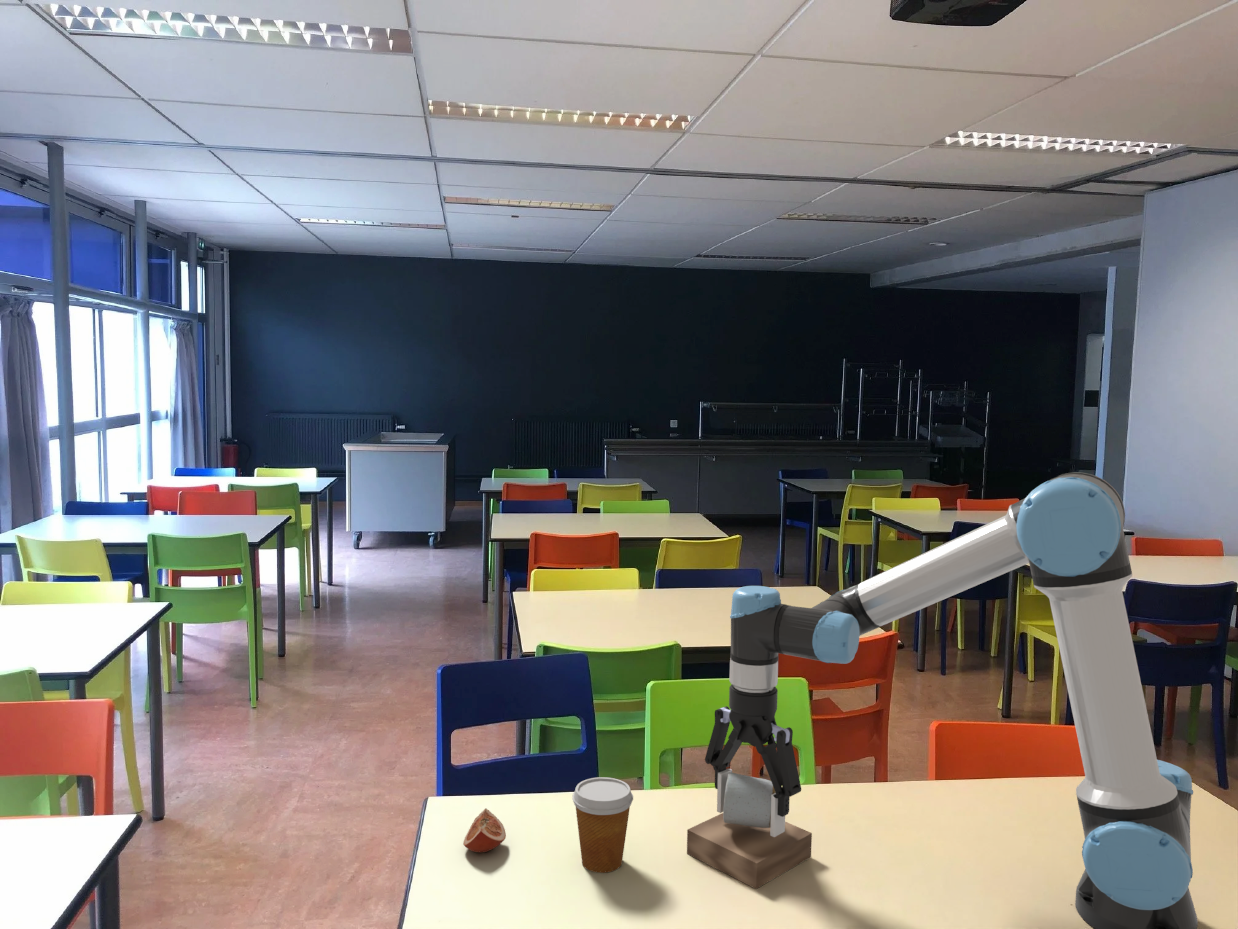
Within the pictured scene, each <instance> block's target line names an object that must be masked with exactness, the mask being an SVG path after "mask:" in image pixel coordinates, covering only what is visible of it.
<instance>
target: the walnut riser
mask: <svg viewBox="0 0 1238 929" xmlns="http://www.w3.org/2000/svg"><path fill="white" fill-rule="evenodd" d="M686 831H687V832H686V835H687V836H686V854H687V855H689V856H691V857H693V858H695V860H696V859H697V860H699V861H700V862H702V863H704V864H706V865H708V866H710V867H712V868H714V869H716V870H718V871H720V872H722V873H724V874H726V875H728V876H730V877H731V878H734V879H736V880H738V881H740V882H742V883H744V884H746V885H747V886H749V887H751V888H753V889H755V890H757V889H759V888H760V887H762V886H764V885H765V884H767V883H769V882H770V881H772V880H774V879H777V877H778V878H779V876H781V875H784V874H785V873H786V872H788V871H790V870H792V869H793V868H794V867H797V866H798V865H800V864H802V863H804V862H805V861H807V860H808V859H810V858H812V845H813V844H812V841H813V840H812V839H813V833H812V831H811V832H810V831H809V830H806V829H804V828H802V827H799V826H797V825H794V824H792V823H789V822H787V821H785V832H783V833H781V834H779V835H778V836H776V837H772V836H770V828H760V827H753V826H745V825H738V824H731V823H725V822H724V820H723V812H722V813H719V814H718V815H716V816H713V817H711V818H709V819H707V820H705V821H702V822H701V823H698V824H696V825H694V826H692V827H690V828H687V830H686Z"/></svg>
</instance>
